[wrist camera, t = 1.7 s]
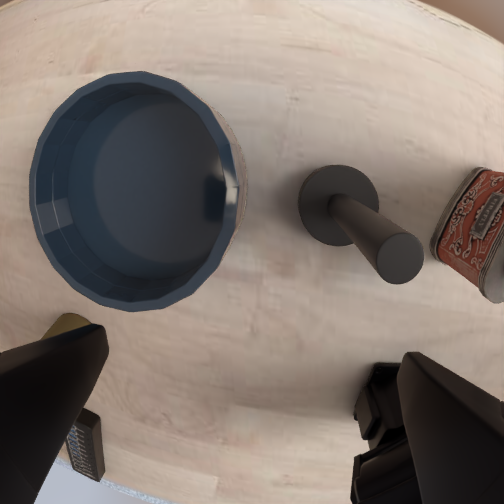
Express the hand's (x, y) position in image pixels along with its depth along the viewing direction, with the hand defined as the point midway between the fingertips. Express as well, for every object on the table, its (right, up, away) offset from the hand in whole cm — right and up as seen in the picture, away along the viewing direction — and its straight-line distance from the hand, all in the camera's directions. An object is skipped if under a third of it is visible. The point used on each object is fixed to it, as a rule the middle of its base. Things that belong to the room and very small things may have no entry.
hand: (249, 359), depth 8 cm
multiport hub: (-21, -21, +22) cm, 37 cm away
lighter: (+16, +6, +11) cm, 20 cm away
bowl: (-7, +7, +12) cm, 16 cm away
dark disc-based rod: (+6, +6, +11) cm, 14 cm away
